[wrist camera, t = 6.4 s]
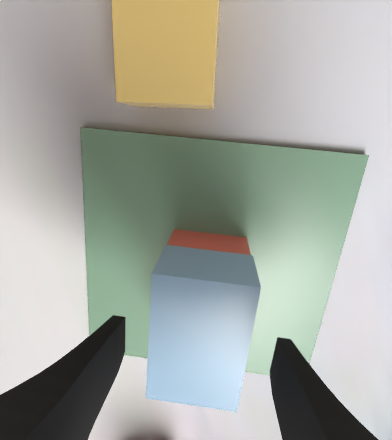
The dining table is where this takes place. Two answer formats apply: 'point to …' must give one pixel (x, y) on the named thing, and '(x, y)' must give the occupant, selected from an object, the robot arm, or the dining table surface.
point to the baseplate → (216, 225)
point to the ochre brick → (165, 52)
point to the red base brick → (209, 241)
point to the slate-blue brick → (200, 326)
